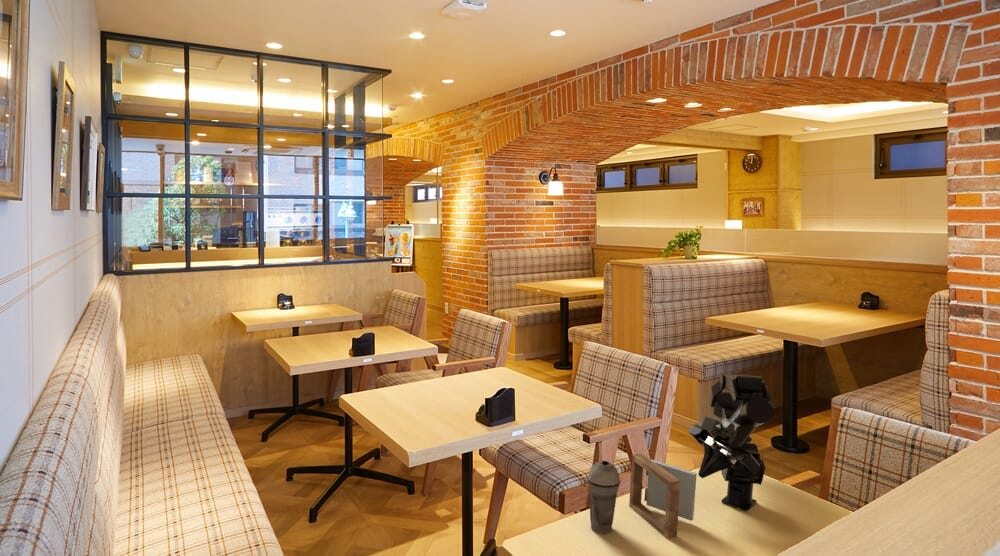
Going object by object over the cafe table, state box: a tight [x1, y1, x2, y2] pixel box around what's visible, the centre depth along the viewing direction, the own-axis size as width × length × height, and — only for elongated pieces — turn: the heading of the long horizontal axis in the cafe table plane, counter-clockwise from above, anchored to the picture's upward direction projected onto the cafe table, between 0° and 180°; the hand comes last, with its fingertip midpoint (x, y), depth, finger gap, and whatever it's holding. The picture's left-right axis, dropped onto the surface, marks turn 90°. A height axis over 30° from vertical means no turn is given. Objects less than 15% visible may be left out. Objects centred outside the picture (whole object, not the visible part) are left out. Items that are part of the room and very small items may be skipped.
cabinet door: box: [644, 459, 698, 522], centre depth 141 cm, size 2×12×11 cm, turn 51°
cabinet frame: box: [628, 453, 680, 540], centre depth 139 cm, size 2×15×13 cm, turn 21°
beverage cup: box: [586, 441, 621, 535], centre depth 134 cm, size 7×7×20 cm
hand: (700, 476), depth 141 cm, fingers closed
